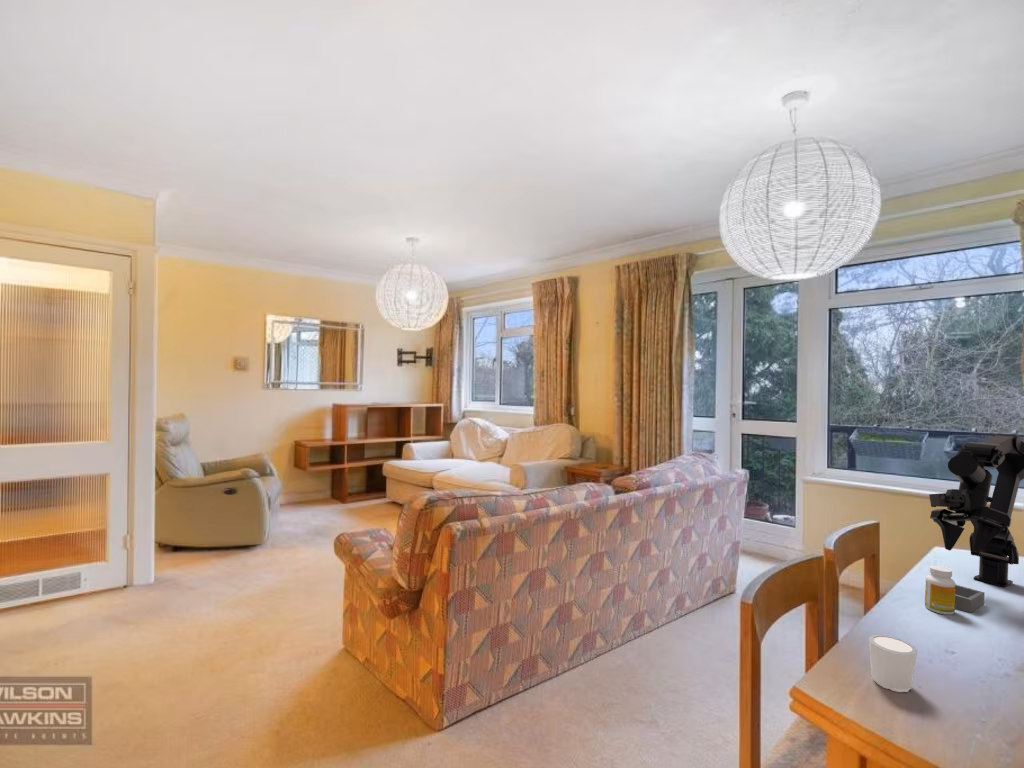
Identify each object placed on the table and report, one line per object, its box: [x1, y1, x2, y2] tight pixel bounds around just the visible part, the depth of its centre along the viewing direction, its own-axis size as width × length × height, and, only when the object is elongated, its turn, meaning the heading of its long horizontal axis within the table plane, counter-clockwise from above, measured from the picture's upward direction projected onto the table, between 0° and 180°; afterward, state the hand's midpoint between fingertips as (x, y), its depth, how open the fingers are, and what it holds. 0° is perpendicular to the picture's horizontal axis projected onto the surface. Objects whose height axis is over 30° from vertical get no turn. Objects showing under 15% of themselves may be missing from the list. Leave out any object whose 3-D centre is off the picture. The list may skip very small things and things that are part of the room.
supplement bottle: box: [924, 565, 956, 615], centre depth 121 cm, size 5×5×10 cm
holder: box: [955, 583, 985, 614], centre depth 126 cm, size 9×9×3 cm
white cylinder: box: [868, 634, 918, 689], centre depth 91 cm, size 7×7×7 cm
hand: (961, 550), depth 127 cm, fingers open, 9 cm apart
